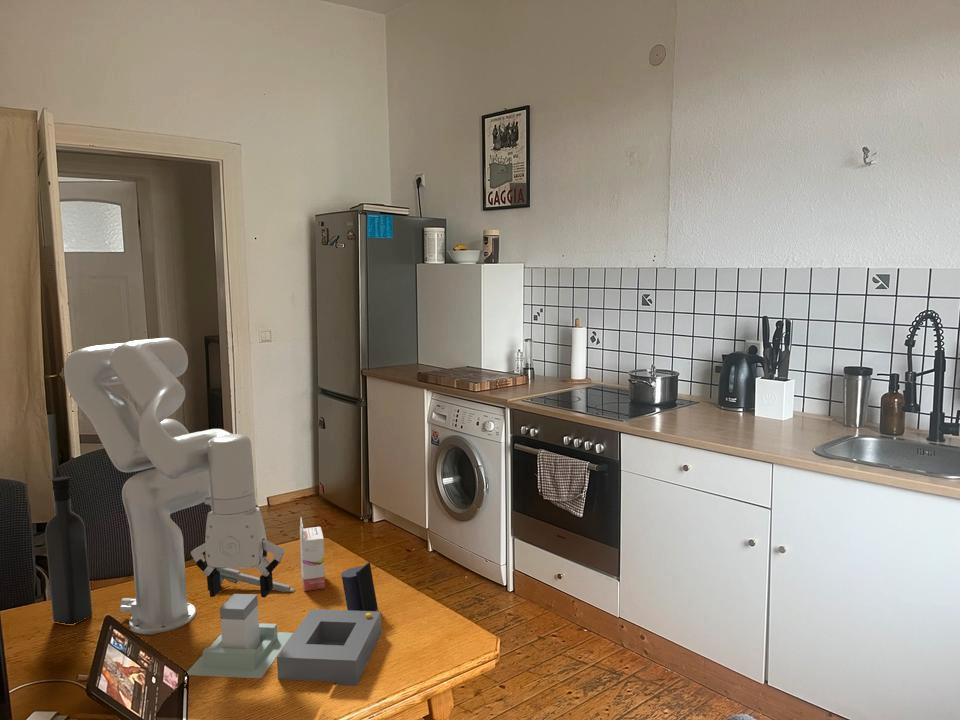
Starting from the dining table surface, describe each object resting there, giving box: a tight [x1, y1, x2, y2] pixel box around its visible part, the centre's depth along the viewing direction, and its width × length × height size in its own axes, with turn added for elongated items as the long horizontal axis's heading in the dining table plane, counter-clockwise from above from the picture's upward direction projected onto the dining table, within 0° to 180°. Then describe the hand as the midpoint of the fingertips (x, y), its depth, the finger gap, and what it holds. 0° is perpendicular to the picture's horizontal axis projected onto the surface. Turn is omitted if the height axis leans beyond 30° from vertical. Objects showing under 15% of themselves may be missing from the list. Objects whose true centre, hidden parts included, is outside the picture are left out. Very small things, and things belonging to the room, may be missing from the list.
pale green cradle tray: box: [187, 622, 294, 679], centre depth 137 cm, size 14×16×4 cm
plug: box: [219, 593, 260, 649], centre depth 137 cm, size 4×6×10 cm
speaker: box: [340, 561, 379, 611], centre depth 154 cm, size 8×6×10 cm
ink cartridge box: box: [299, 517, 326, 592], centre depth 168 cm, size 9×5×15 cm, turn 17°
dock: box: [276, 608, 382, 687], centre depth 136 cm, size 14×18×5 cm
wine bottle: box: [44, 476, 93, 624], centre depth 150 cm, size 6×6×30 cm
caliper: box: [217, 568, 296, 593], centre depth 165 cm, size 20×1×6 cm, turn 80°
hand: (240, 594), depth 135 cm, fingers open, 9 cm apart
